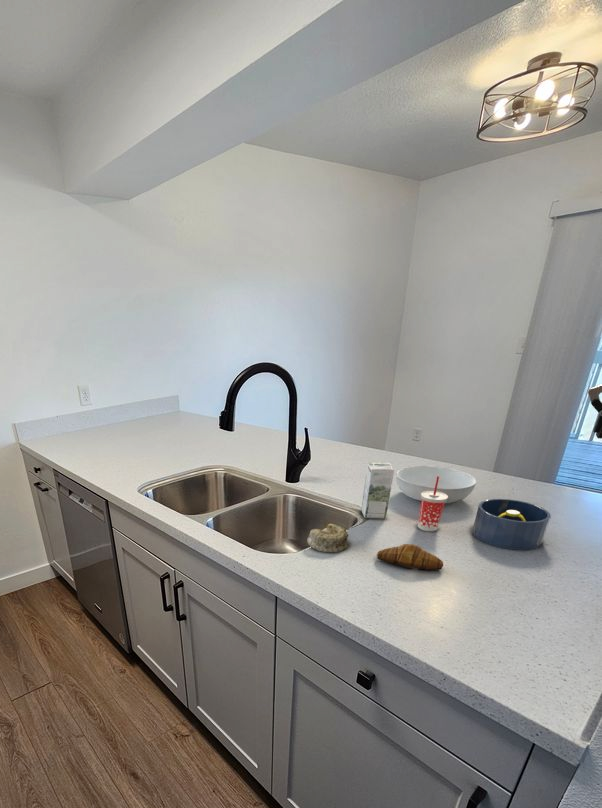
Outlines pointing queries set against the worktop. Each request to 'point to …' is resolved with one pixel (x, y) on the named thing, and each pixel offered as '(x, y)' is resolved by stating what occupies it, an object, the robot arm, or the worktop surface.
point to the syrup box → (377, 490)
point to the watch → (512, 514)
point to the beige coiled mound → (328, 539)
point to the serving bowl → (425, 478)
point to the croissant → (410, 557)
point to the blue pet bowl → (511, 524)
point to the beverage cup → (431, 509)
